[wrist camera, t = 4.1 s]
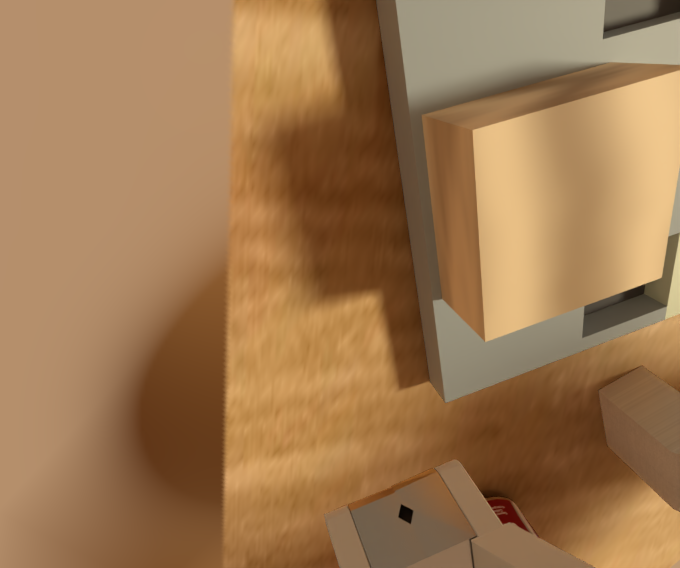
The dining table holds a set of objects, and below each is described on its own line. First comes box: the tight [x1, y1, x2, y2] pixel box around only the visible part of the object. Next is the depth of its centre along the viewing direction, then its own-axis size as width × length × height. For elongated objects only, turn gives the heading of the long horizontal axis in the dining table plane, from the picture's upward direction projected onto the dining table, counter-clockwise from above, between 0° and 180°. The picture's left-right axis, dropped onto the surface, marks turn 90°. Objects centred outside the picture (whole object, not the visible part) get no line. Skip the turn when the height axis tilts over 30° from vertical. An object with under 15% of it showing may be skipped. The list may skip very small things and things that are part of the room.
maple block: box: [422, 62, 680, 342], centre depth 20 cm, size 9×9×4 cm
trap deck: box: [376, 0, 680, 403], centre depth 23 cm, size 27×23×4 cm
